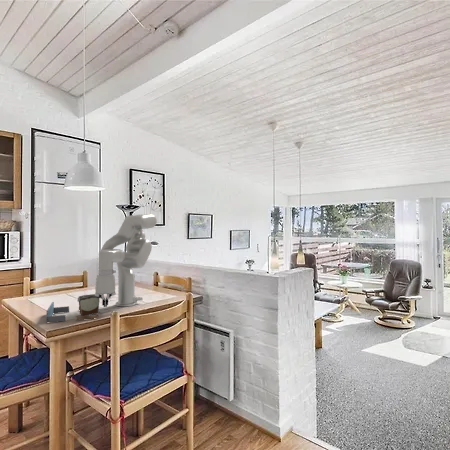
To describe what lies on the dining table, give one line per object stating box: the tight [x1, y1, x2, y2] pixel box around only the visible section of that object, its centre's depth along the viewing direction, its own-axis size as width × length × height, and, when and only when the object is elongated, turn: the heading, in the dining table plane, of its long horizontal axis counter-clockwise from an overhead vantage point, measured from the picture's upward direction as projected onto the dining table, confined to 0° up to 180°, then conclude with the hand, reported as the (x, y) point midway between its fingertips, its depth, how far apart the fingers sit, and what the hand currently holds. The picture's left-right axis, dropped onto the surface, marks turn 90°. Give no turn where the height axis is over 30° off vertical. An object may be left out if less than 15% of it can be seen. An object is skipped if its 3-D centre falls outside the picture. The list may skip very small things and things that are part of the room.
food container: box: [77, 293, 101, 316], centre depth 174 cm, size 12×6×10 cm, turn 142°
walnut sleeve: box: [75, 307, 99, 321], centre depth 174 cm, size 10×22×2 cm, turn 21°
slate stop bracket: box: [46, 301, 70, 323], centre depth 169 cm, size 8×20×6 cm, turn 21°
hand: (105, 306), depth 176 cm, fingers closed
